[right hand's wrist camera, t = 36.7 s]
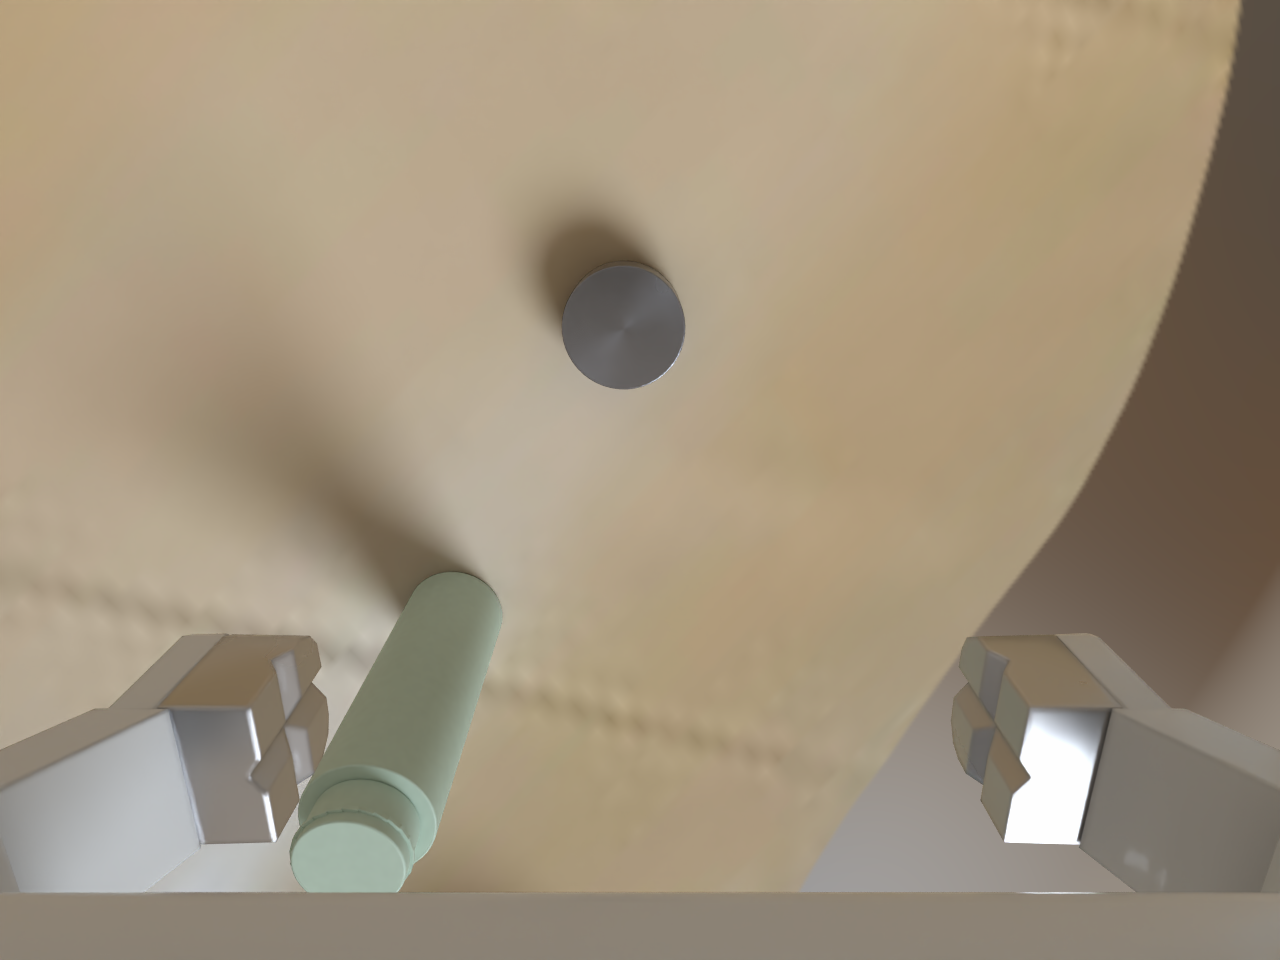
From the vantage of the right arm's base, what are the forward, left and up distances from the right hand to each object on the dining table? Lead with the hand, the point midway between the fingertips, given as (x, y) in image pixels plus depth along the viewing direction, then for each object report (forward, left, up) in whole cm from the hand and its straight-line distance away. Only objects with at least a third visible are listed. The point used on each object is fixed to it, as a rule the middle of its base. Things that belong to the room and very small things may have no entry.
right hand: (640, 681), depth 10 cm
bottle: (+16, -6, -27) cm, 32 cm away
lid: (0, -1, -25) cm, 25 cm away
